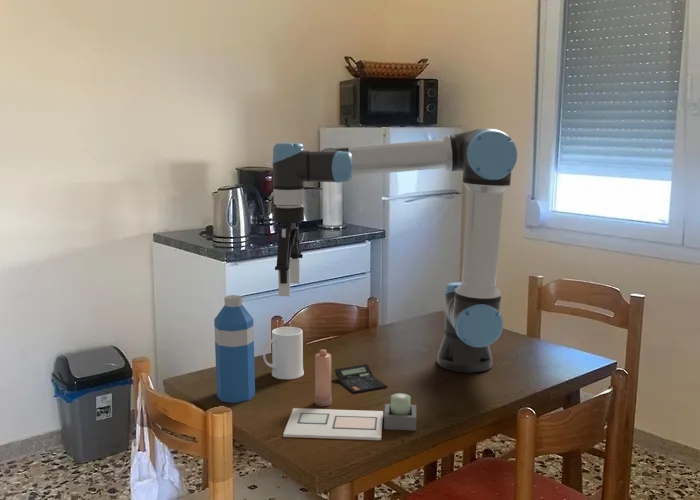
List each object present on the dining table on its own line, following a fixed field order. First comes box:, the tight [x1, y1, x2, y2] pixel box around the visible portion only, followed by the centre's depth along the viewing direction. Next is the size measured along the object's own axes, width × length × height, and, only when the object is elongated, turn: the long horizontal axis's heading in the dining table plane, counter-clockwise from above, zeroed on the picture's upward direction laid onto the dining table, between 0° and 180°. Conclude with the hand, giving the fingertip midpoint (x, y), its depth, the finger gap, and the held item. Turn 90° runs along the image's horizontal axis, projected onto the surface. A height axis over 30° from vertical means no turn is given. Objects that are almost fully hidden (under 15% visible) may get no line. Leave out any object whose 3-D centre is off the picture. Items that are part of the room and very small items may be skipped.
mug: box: [262, 326, 305, 381], centre depth 189 cm, size 12×8×12 cm
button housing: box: [383, 403, 417, 431], centre depth 160 cm, size 7×7×3 cm
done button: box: [390, 392, 412, 415], centre depth 160 cm, size 4×4×4 cm
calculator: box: [334, 363, 388, 394], centre depth 185 cm, size 9×12×3 cm
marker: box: [314, 348, 333, 407], centre depth 171 cm, size 4×4×13 cm
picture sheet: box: [282, 407, 384, 441], centre depth 160 cm, size 21×14×1 cm, turn 86°
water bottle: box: [213, 294, 256, 404], centre depth 174 cm, size 9×9×25 cm
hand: (289, 289), depth 181 cm, fingers open, 13 cm apart
